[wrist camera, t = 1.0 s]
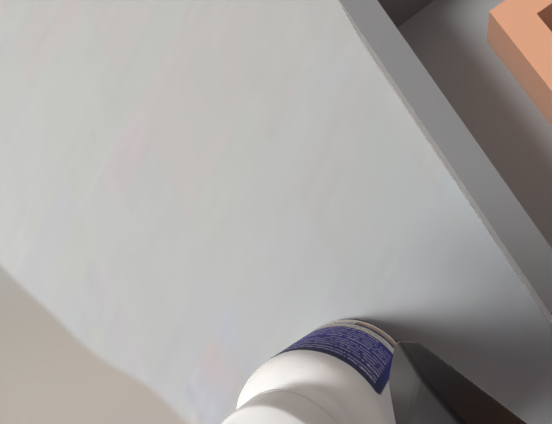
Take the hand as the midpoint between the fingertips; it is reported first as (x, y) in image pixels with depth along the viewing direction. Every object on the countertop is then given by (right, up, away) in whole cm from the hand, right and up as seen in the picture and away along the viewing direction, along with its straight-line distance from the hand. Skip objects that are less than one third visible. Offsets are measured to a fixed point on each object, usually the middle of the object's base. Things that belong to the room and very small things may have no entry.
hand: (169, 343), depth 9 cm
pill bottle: (+6, -5, +11) cm, 13 cm away
